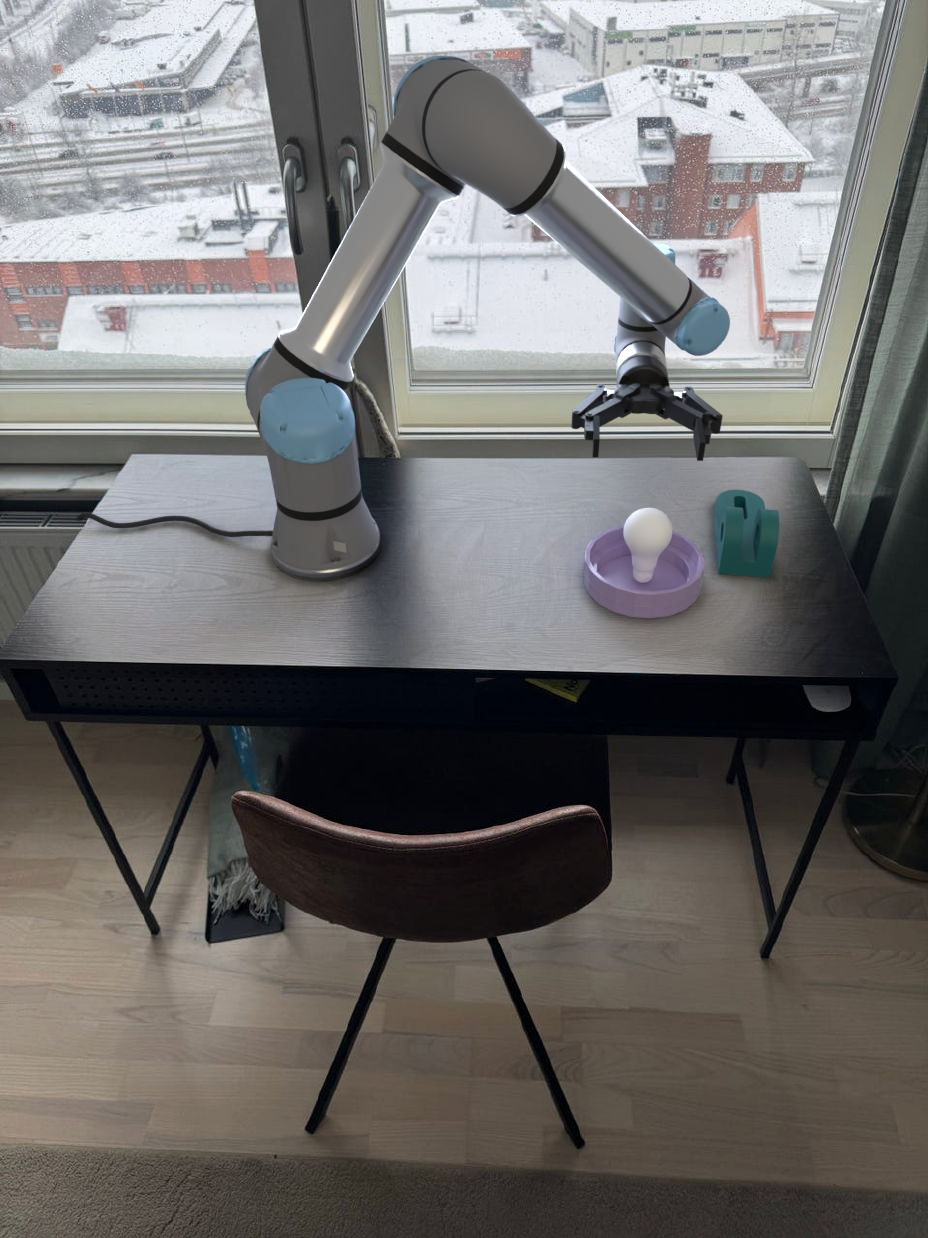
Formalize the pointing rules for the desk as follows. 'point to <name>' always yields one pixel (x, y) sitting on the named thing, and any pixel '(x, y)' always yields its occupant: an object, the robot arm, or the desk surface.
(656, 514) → the lightbulb
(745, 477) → the desk surface
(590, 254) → the robot arm
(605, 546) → the bowl
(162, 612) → the desk surface
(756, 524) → the bracket
